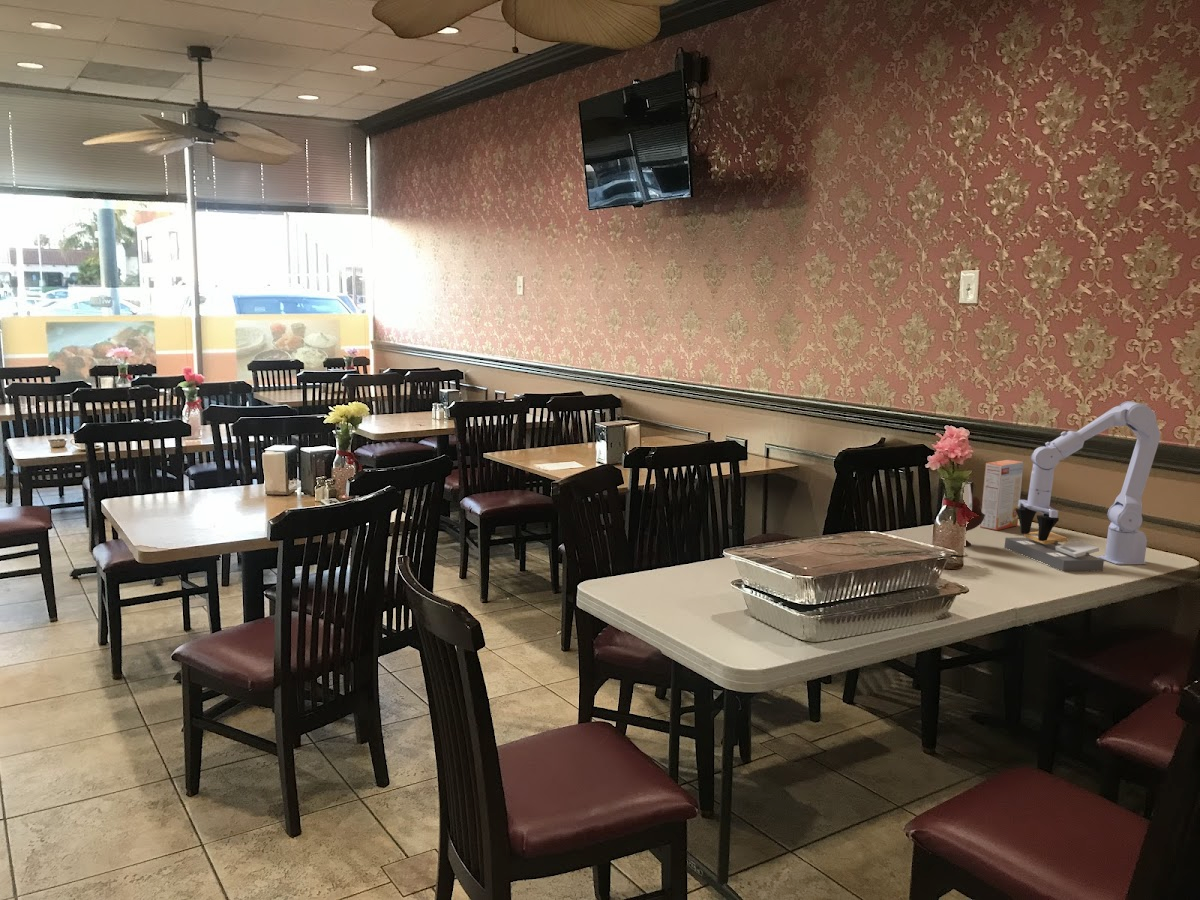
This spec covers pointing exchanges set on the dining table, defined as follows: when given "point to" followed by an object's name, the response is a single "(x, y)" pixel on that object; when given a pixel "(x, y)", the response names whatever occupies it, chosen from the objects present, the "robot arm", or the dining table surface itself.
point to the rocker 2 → (1077, 549)
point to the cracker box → (1001, 494)
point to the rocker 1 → (1051, 538)
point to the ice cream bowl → (976, 520)
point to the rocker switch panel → (1053, 555)
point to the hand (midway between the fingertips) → (1033, 537)
